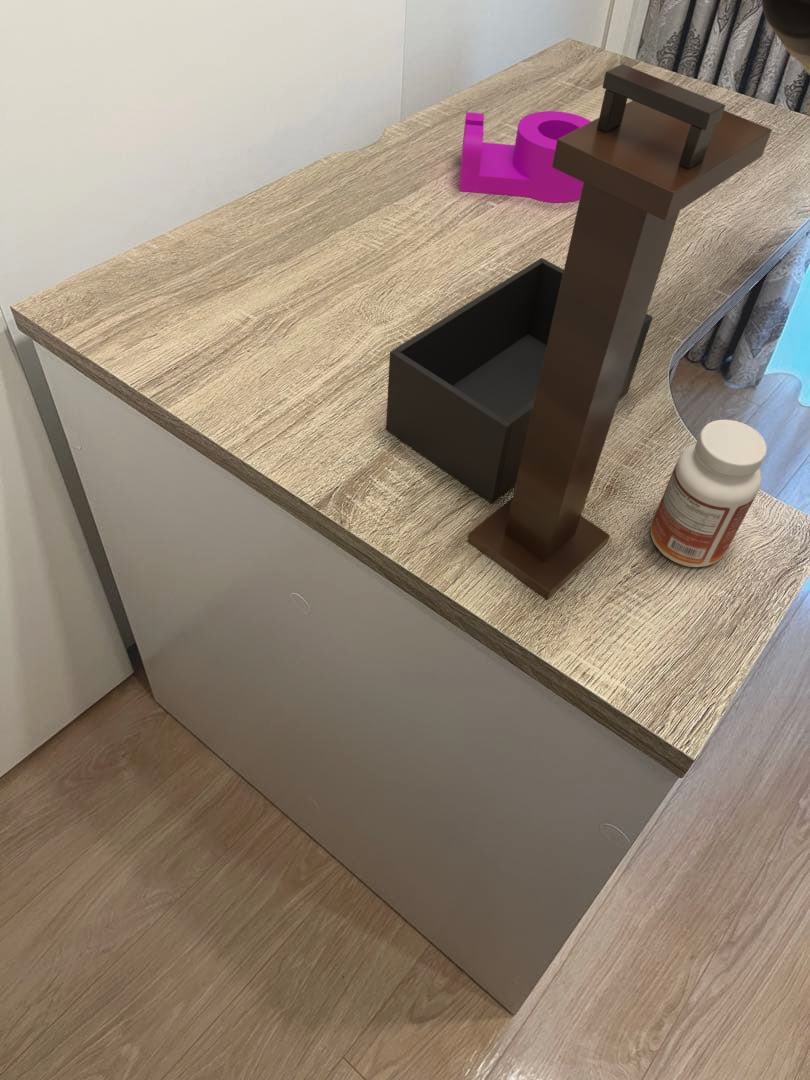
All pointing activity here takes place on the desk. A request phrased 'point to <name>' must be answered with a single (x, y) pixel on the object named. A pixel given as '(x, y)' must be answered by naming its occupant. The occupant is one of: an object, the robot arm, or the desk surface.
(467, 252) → the desk surface
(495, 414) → the bin
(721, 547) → the pill bottle
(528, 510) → the brown pedestal stand
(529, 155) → the tape dispenser
